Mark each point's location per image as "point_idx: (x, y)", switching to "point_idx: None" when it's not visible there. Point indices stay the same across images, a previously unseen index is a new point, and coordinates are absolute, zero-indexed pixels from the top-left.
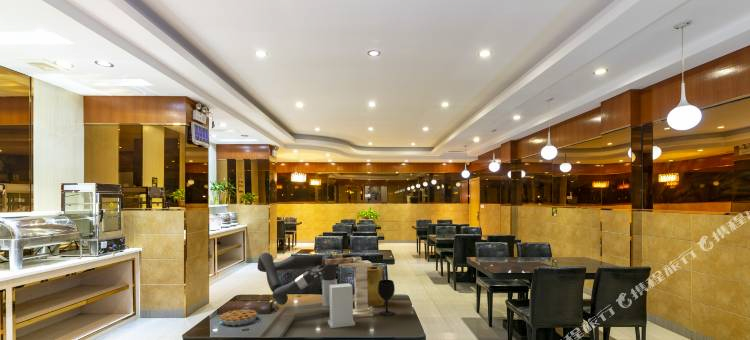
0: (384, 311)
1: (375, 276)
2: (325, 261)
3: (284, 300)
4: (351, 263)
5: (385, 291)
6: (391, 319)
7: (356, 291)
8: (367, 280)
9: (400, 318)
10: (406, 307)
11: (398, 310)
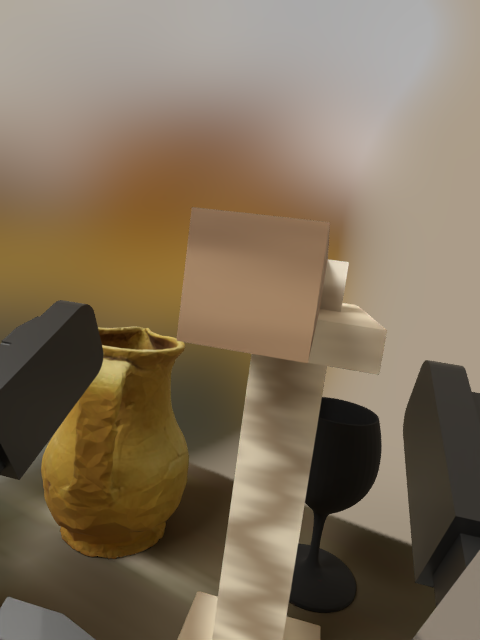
0: None
1: (165, 385)
2: (215, 267)
3: None
4: (337, 313)
5: (376, 471)
6: (420, 612)
7: (292, 557)
8: (118, 417)
9: (411, 576)
10: None
11: None
